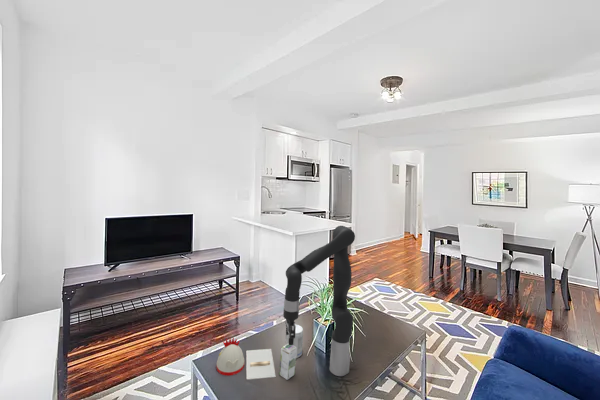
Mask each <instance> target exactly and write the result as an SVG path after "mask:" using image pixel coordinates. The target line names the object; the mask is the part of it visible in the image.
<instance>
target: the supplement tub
mask: <svg viewBox="0 0 600 400" xmlns="http://www.w3.org/2000/svg"><path fill="white" fill-rule="evenodd" d="M295 326H296V329H295V338H294V341H293V345H294V346H295V347H296V348H297V353H296V359H297V358H299V357H301V356H302V354H303V340H304V339H303V338H304V337H303V336H304V329H303V327H302V326H301V325H299V324H296V323H295ZM291 335H293V334H291ZM288 343H289V335H286V334H285V345H286V344H288ZM285 345H284V346H285Z"/></svg>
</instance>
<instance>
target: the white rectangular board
mask: <svg viewBox="0 0 600 400" xmlns="http://www.w3.org/2000/svg"><path fill="white" fill-rule="evenodd" d="M245 354H246V359H245V360H246V361H245V362H246V365H245V367H246V368H245V369H246V380H247V381H250V380H260V379H271V378H276V377H277V376H276V371H275V363H274V358H273V352H272V348H265V349H264V348H263V349H251V350H249V349H248V350H246V353H245ZM264 361H270V365H266V366H253V367H250V363H251V362H264Z"/></svg>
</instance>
